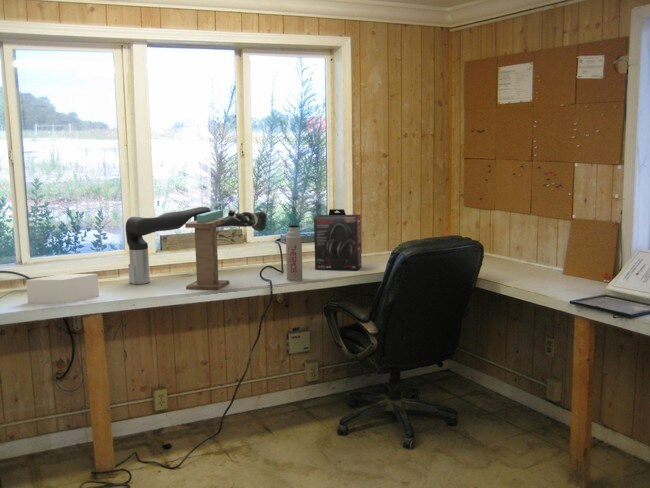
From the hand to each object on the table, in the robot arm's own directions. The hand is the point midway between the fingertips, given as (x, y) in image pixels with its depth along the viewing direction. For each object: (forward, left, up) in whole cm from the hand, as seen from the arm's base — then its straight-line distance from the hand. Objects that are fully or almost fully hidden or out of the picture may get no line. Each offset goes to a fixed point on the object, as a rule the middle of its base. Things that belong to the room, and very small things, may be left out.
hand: (236, 217), depth 331 cm
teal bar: (-14, +1, 0) cm, 14 cm away
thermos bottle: (+20, -21, -32) cm, 43 cm away
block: (-82, +18, -32) cm, 90 cm away
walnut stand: (-20, -3, -32) cm, 38 cm away
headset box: (+57, -13, -32) cm, 67 cm away
